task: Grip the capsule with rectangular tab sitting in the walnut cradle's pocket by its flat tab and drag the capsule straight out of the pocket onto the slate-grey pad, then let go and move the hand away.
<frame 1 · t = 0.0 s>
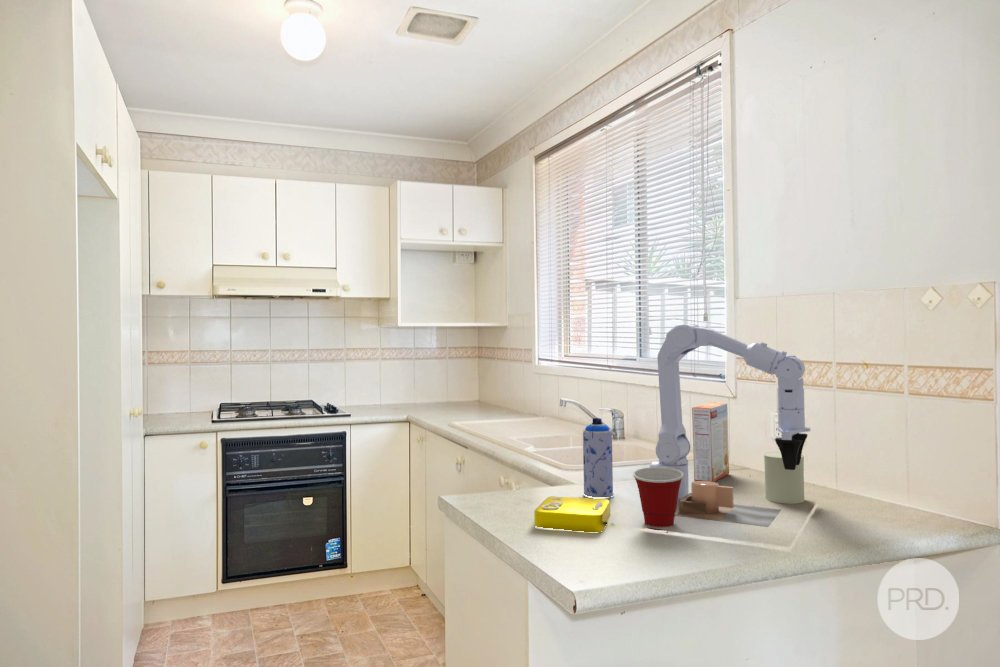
hand: (792, 467, 164), 10 cm above the worktop, tool pointing down, fingers open, 6 cm apart
can: (784, 502, 173), on the worktop, touching gripper
capsule with rectangular tab: (705, 509, 164), point 1 cm above the worktop, touching cradle
cracker box: (711, 478, 203), on the worktop
aerosol can: (598, 496, 183), on the worktop
element tile: (573, 525, 158), on the worktop
plastic cup: (659, 528, 153), on the worktop
cradle: (728, 515, 161), on the worktop
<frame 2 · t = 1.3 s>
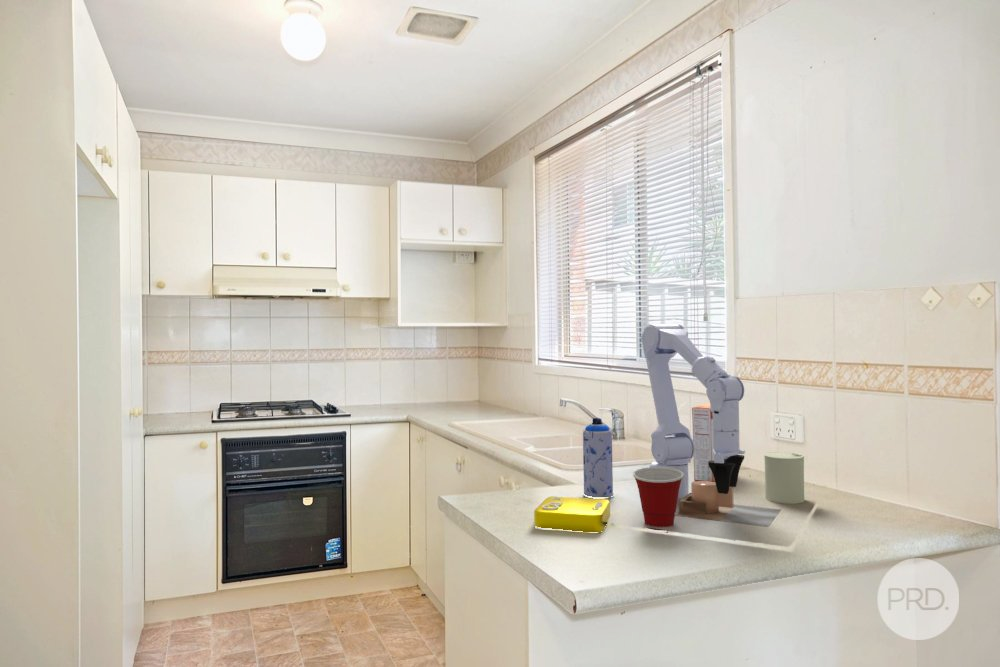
hand: (727, 489, 161), 6 cm above the worktop, tool pointing down, fingers open, 7 cm apart
can: (784, 503, 173), on the worktop
everything else where it was.
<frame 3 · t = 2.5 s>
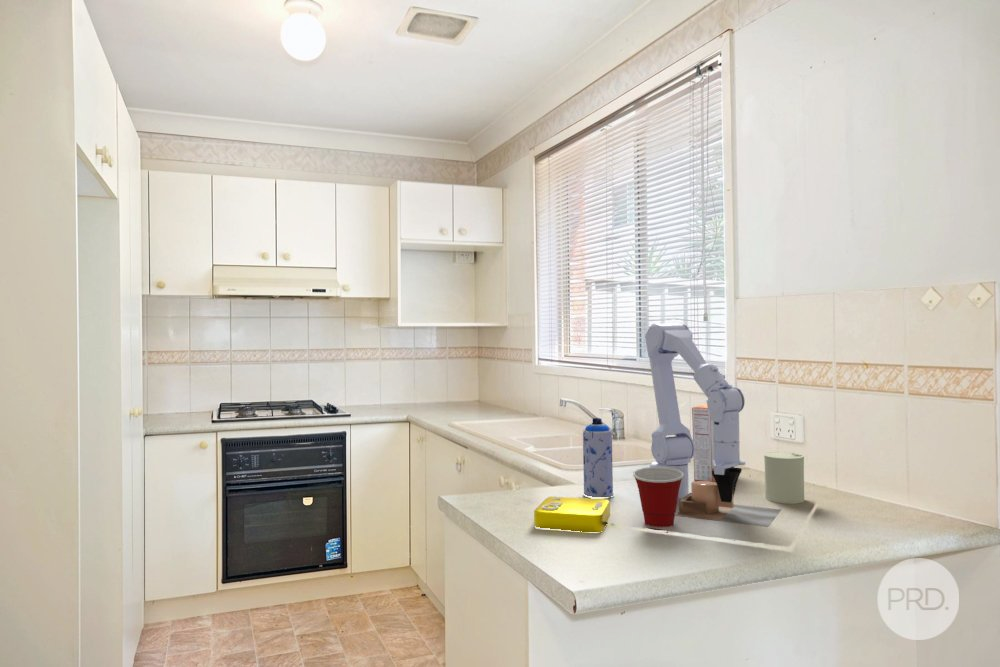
hand: (727, 500, 161), 3 cm above the worktop, tool pointing down, fingers closed on capsule with rectangular tab
capsule with rectangular tab: (705, 509, 164), point 1 cm above the worktop, touching cradle, gripper
everything else where it was.
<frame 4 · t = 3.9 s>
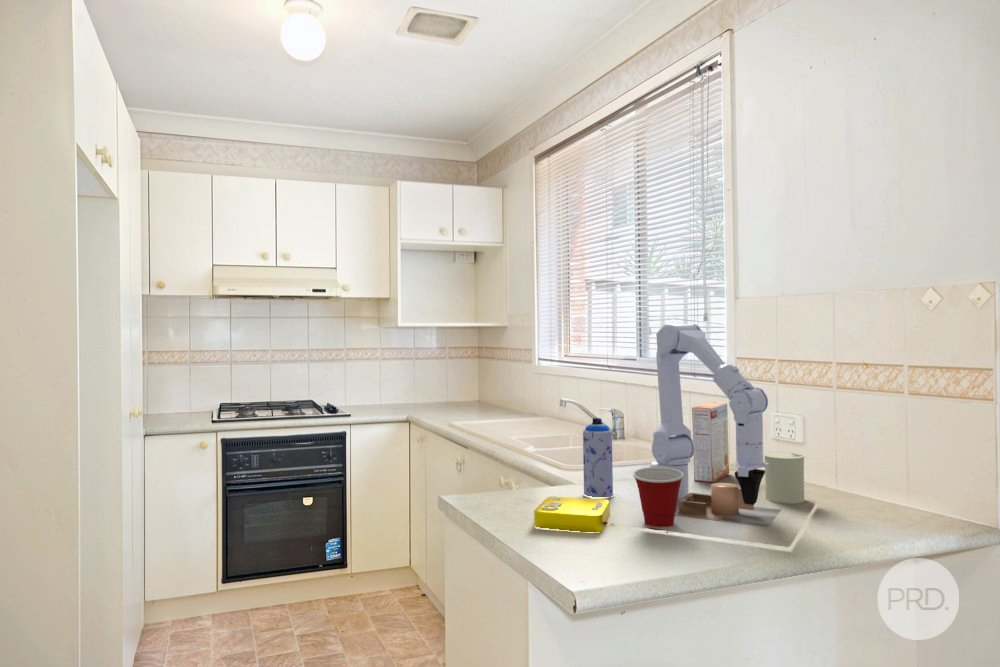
hand: (750, 503, 159), 3 cm above the worktop, tool pointing down, fingers closed on capsule with rectangular tab
capsule with rectangular tab: (725, 511, 162), point 1 cm above the worktop, touching gripper
everything else where it was.
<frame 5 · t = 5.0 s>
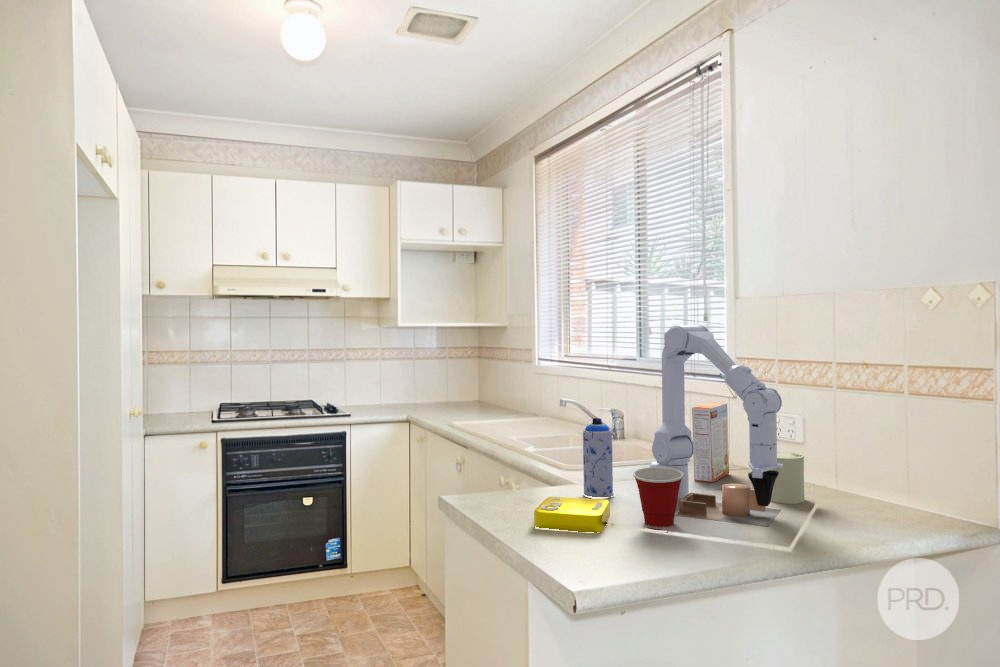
hand: (763, 504, 157), 3 cm above the worktop, tool pointing down, fingers closed on capsule with rectangular tab
capsule with rectangular tab: (736, 513, 160), point 1 cm above the worktop, touching cradle, gripper
everything else where it was.
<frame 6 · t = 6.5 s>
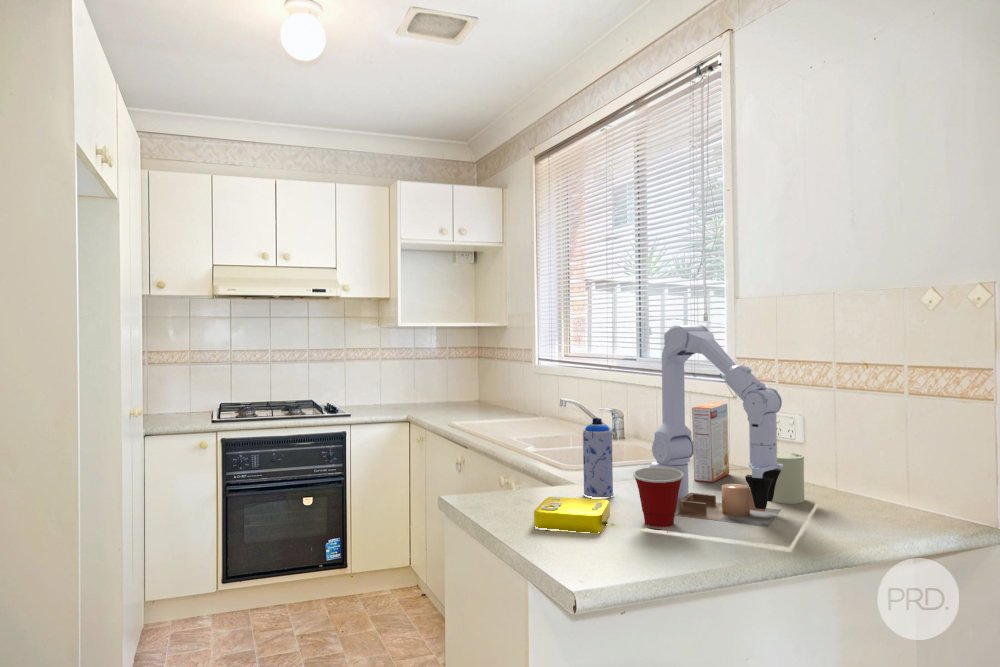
hand: (764, 504, 157), 3 cm above the worktop, tool pointing down, fingers open, 7 cm apart
capsule with rectangular tab: (736, 513, 160), point 1 cm above the worktop, touching cradle
everything else where it was.
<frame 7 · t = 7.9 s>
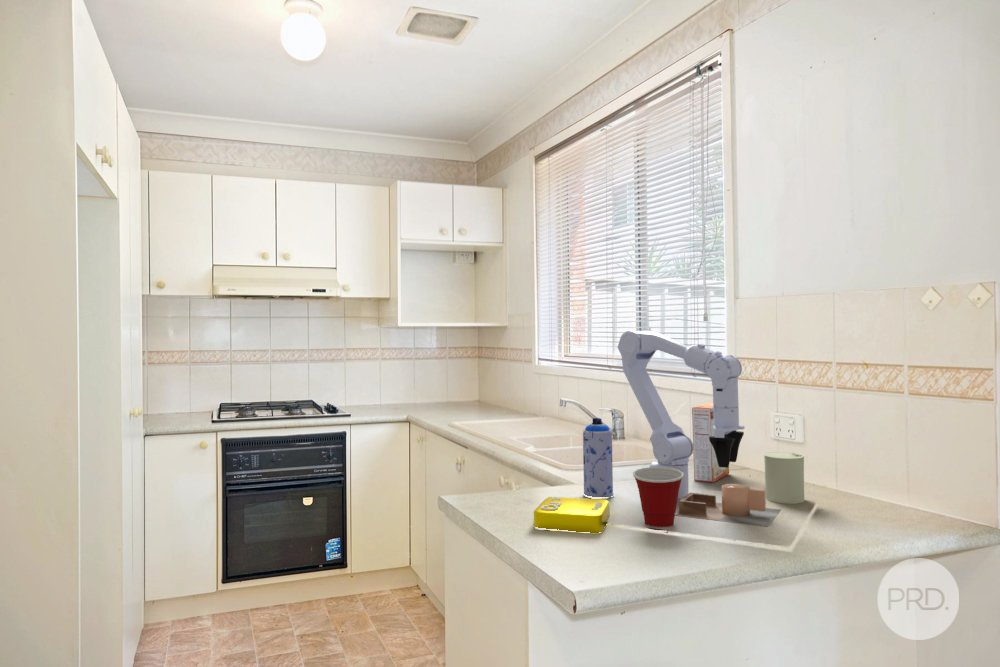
hand: (727, 464, 168), 10 cm above the worktop, tool pointing down, fingers open, 7 cm apart
nothing on the worktop moved.
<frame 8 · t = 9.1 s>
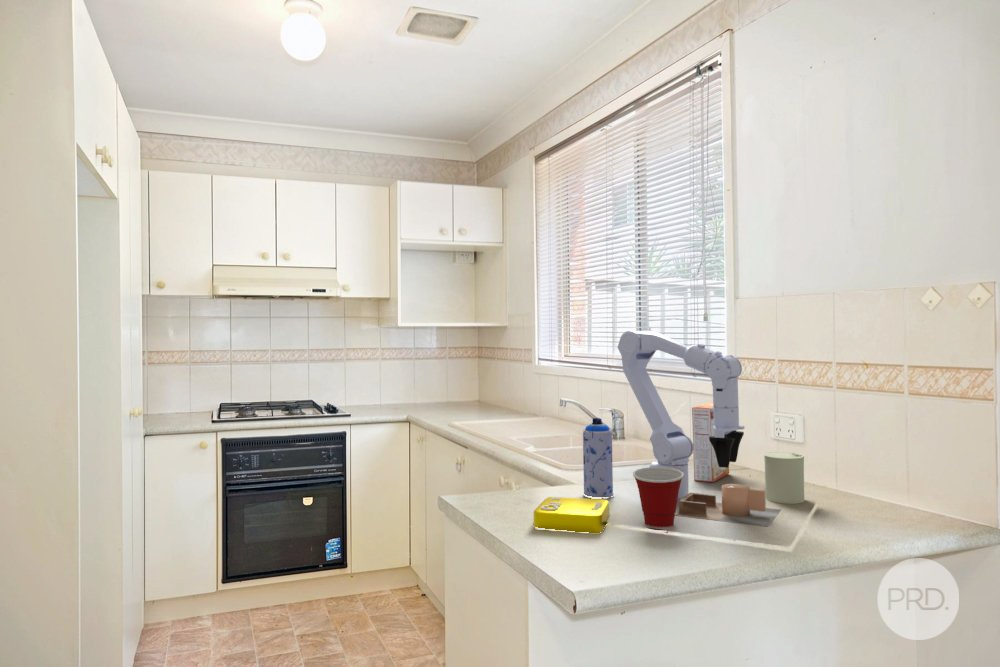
hand: (727, 464, 168), 10 cm above the worktop, tool pointing down, fingers open, 7 cm apart
nothing on the worktop moved.
at the end: capsule with rectangular tab 2.3 cm from the target spot on the cradle, point 0.8 cm above the cradle's base; capsule with rectangular tab tilted 0°; the gripper is holding nothing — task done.
